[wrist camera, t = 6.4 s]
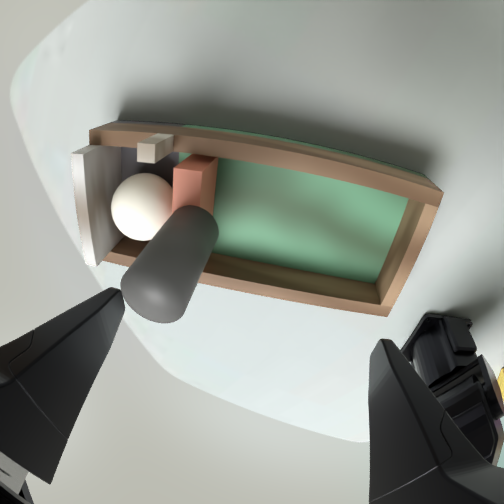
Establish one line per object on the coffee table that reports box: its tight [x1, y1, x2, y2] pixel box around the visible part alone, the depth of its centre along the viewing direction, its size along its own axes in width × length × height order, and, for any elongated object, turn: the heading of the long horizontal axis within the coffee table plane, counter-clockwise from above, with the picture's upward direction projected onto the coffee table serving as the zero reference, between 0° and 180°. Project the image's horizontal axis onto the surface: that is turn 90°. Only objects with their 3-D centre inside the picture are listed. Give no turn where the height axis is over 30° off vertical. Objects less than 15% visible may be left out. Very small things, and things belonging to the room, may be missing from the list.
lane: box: [71, 121, 444, 317], centre depth 19 cm, size 10×22×6 cm, turn 82°
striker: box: [121, 154, 219, 323], centre depth 16 cm, size 7×3×10 cm, turn 172°
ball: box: [111, 173, 173, 241], centre depth 19 cm, size 4×4×4 cm
